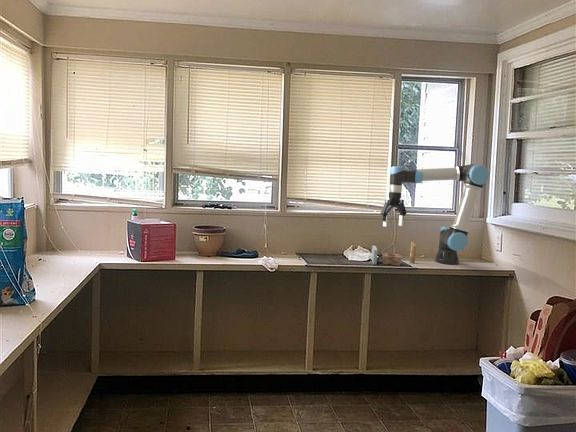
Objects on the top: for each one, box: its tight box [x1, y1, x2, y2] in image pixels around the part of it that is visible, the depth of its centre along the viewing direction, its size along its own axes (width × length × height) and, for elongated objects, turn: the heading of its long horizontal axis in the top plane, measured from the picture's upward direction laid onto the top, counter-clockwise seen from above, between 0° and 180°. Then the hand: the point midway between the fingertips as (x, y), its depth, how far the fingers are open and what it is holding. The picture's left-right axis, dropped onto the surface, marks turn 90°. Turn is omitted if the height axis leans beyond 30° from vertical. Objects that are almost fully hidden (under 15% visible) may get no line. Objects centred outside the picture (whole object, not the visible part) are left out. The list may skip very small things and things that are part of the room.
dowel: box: [408, 241, 417, 264], centre depth 378 cm, size 3×3×13 cm
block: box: [381, 252, 402, 266], centre depth 371 cm, size 10×10×5 cm
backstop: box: [370, 245, 379, 266], centre depth 371 cm, size 2×16×9 cm, turn 177°
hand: (392, 226), depth 373 cm, fingers open, 13 cm apart
